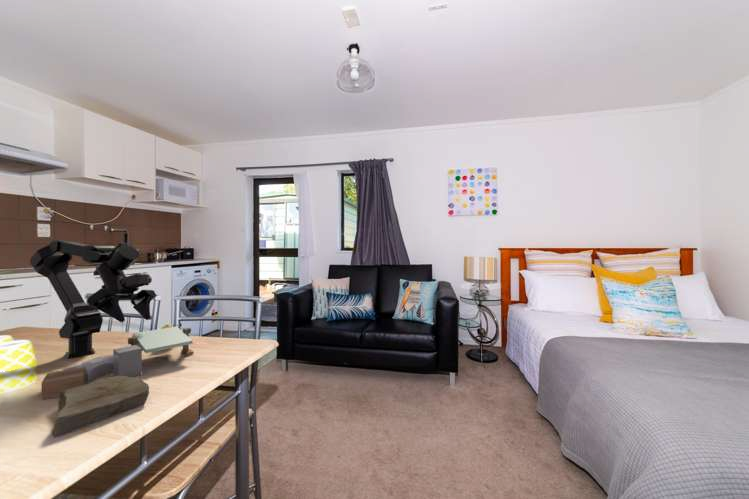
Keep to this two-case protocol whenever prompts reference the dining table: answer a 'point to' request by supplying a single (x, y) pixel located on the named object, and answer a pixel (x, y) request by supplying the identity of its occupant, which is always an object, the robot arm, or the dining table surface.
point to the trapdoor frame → (185, 350)
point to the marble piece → (98, 402)
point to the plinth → (62, 381)
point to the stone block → (96, 367)
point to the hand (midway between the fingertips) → (136, 320)
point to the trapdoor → (161, 339)
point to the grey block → (127, 361)
